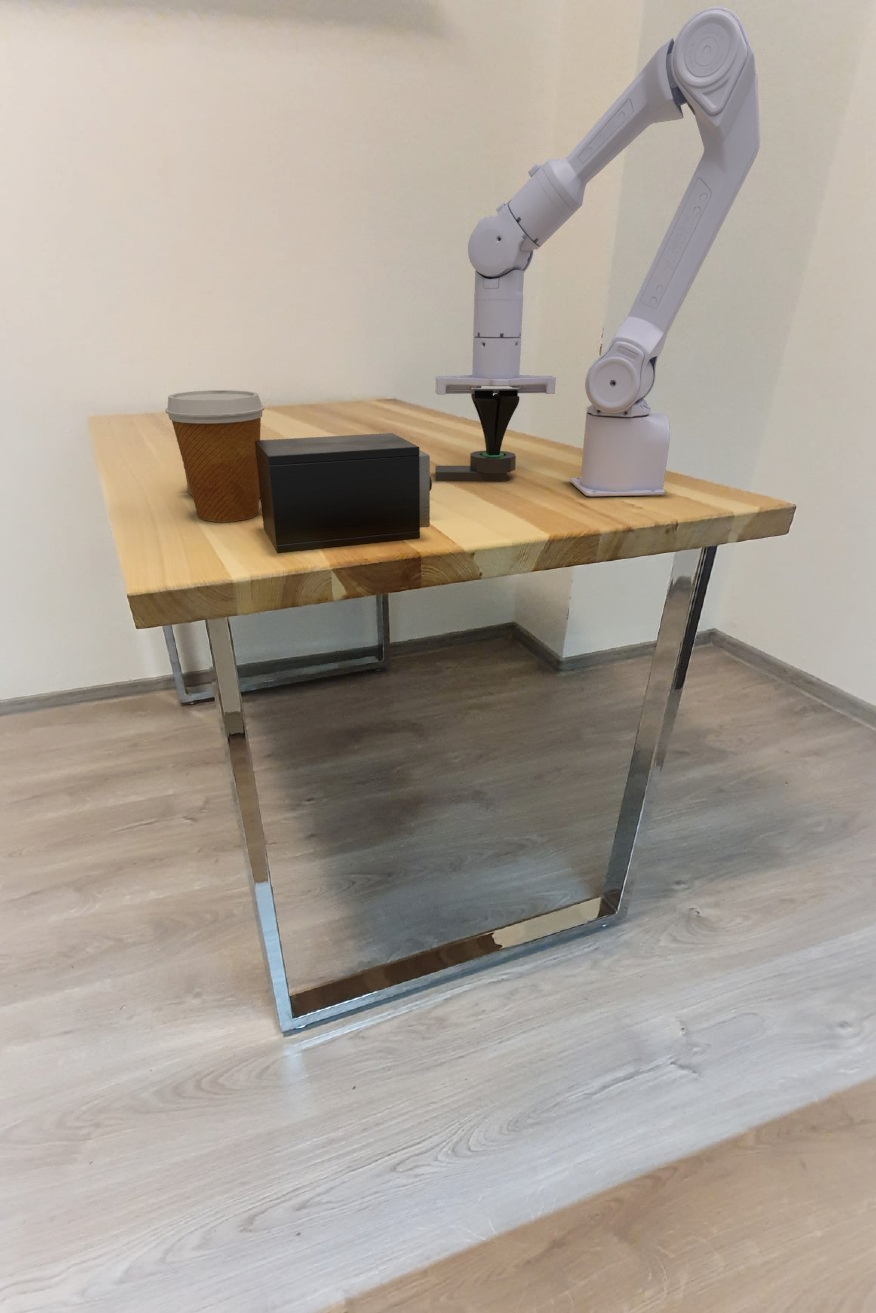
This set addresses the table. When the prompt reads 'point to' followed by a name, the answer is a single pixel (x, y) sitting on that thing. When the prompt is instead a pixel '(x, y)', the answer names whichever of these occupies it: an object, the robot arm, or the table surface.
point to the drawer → (425, 489)
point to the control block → (479, 468)
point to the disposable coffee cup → (219, 450)
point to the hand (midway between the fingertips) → (492, 454)
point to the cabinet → (338, 491)
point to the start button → (492, 455)
